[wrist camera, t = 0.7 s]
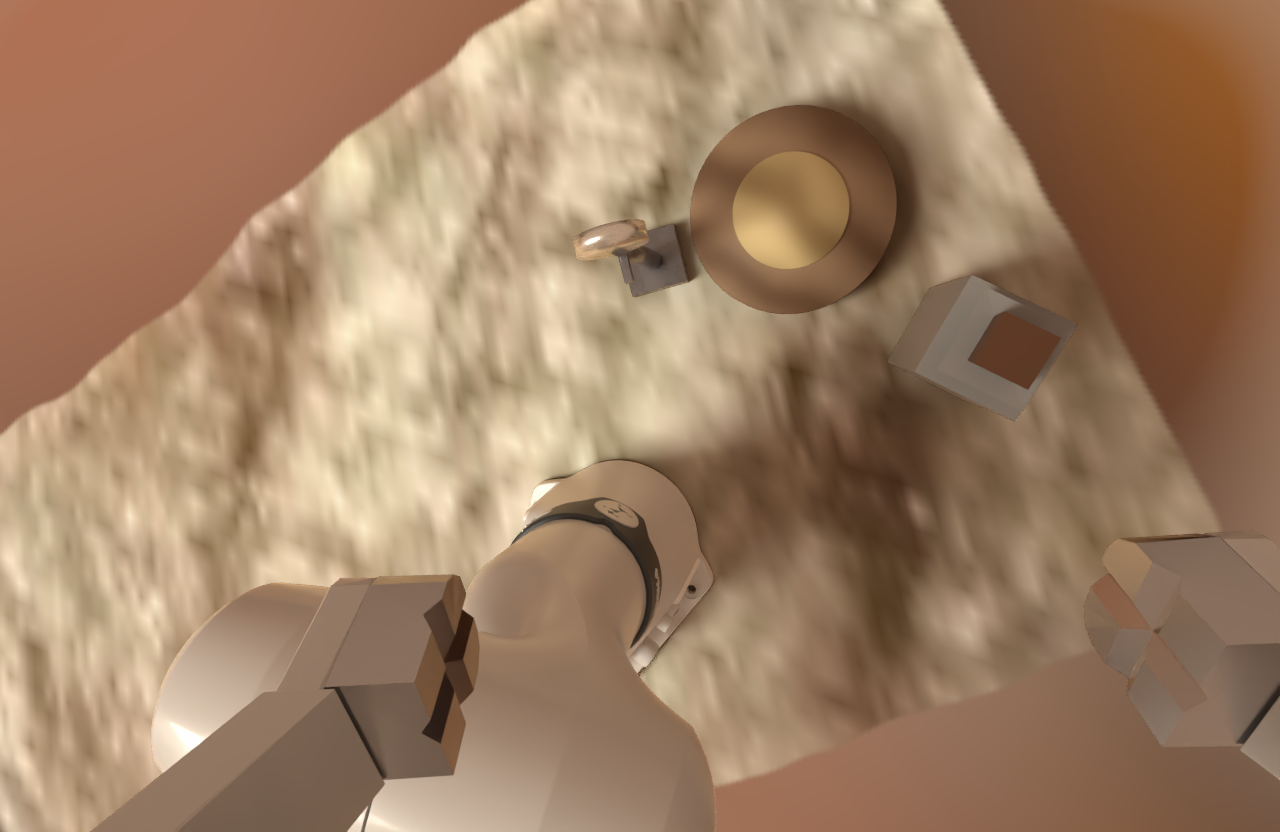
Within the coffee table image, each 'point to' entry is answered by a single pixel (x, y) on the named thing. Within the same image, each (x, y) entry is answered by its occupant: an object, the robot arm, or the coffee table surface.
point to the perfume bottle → (982, 344)
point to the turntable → (793, 209)
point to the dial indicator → (637, 253)
